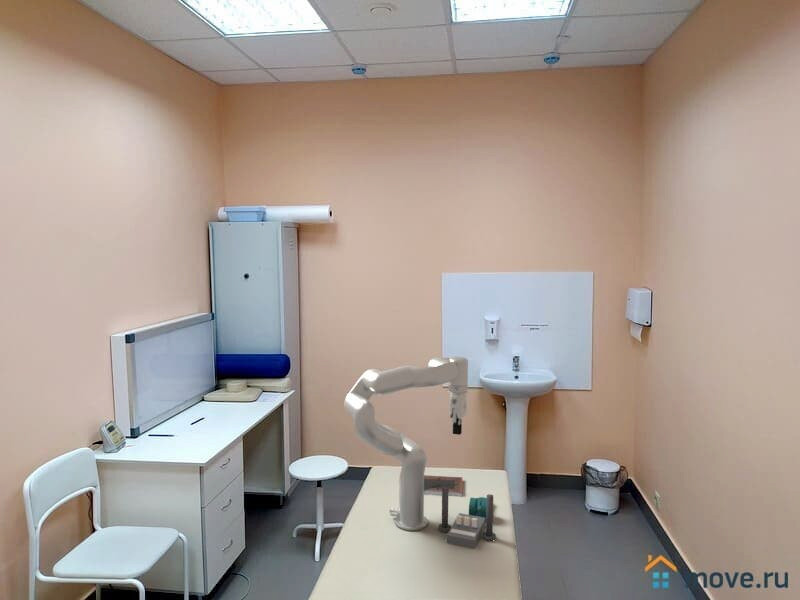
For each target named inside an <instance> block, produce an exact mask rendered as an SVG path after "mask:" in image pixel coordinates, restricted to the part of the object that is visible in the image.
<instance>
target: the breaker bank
mask: <svg viewBox="0 0 800 600" xmlns="http://www.w3.org/2000/svg"><path fill="white" fill-rule="evenodd" d="M455 520H456V524H458V525H461V524H462V520H464V526H469V525H470V521H472V527H474V528H477V520H478V519H476V518H472V519H471V518H470V517H462V516H460V515H459V514H456V517H455Z"/></svg>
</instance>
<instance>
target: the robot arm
mask: <svg viewBox="0 0 800 600" xmlns="http://www.w3.org/2000/svg"><path fill="white" fill-rule="evenodd" d="M468 375H469V360H468V359H467V357H463V356H452V357H443V356H442V357H441V356H438V357H433V358H431V359H430V360H429V361H428V364H427V366H416V365H403V366H399V367H395V368H392V369H388V370H384V371H383V370H382V371H380V370H378V369H376V368H370V369H367V370H366V371H365V372H364V373H363V374H362V375H361V376H360V378H359V379H358V380H357V382H356V383H355V384H354V386H353V387H352V388H351V390H350V391H349V393H347V395H346V397H345V398H344V401H343V407H344V410H345V412H346V413H347V415H349V416H350V417H351V418H352V419H353V429H354V432H355V435H356V437H358V438H359V439H360V440H361V441H362V442H365V444H368V446H370V447H373V448H374V449H376V450H377V451H379V452H380V453H382V454H383V455H386V456H387V457H388V456H389V457H393V459H395V460H396V461H398V463H400V464H401V470H400V473H399V480H398V482H399V483H398V485H399V487H398V489H399V494H398V495H399V499H398V500H399V501H398V502H399V505H398V507H399V508H393V507H390V508H389V513H390V514H389V515H390V516H392V517H395V518H394V519H395V520H394V523H395V526H396V527H398V528H399V529H401V530H403V531H409V532H410V531H413V532H414V531H420V530H423V529H424V528H425V527H427V526H428V518H427V516H425V513H424V511H425V510H424V509H425V507H424V506H425V503H424V501H425V499H424V497H425V494H424V475H425V471H426V466H427V454H426V452H425V450H424V448H423V447H422V446H421V445H420V444H418V443H417V442H415V441H414V440H412V439H411V438H410V437H408V436H407V435H404V434H403V433H402V432H399V431H398V430H396V429H395V428H393V427H391V426H389V425H387V424H381V423H379V422H377V421H376V410H375V406H374V405H373V403H372V402H371V401H370V399H371V398H372V397H373V395H375V396H386V395H389V394H392V393H396V392H400V391H403V390H408V389H412V388H427V387H435V386H439V385H444V384H447V383H448V384H447V385H448V388H447V390H448V393H449V394H450V395H449V408H448V409H449V410H448V411H449V418H450V419H452V421H451V422H452V434H453V435H459V436H460V435H462V432H463V431H462V430H463V428H462V427H463V426H462V425H463V424H462V423H463V419H464V417H465V416H466V415H467V412H468V401H467V400H468V399H467V393H468V384H469V383H468V378H469V376H468Z"/></svg>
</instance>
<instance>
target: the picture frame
mask: <svg viewBox="0 0 800 600" xmlns="http://www.w3.org/2000/svg"><path fill="white" fill-rule="evenodd" d="M443 487H447V488H449V493H448V497H450V496H451V497H462V496H463V477H461V476H443V475H442V476H441V475H425V474H424V495H428V494H432V495H431V496H442V488H443Z"/></svg>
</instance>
